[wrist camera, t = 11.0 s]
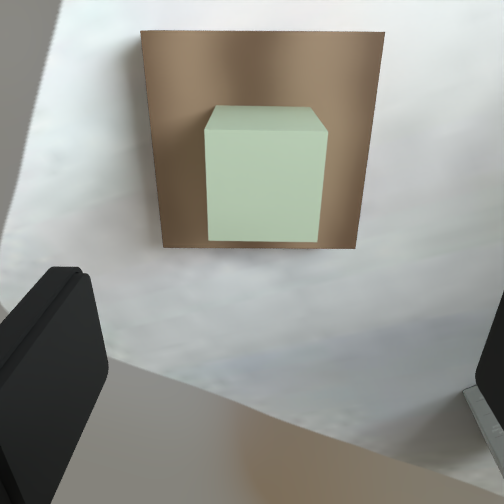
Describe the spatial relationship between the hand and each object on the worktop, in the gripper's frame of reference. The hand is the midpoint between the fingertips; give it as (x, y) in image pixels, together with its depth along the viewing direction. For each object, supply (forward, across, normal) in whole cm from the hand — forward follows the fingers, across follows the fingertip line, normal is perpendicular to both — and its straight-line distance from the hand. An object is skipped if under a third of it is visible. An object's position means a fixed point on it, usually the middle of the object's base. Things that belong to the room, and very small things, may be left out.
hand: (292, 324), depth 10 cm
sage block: (+15, +1, 0) cm, 15 cm away
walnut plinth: (+18, +1, 0) cm, 18 cm away
